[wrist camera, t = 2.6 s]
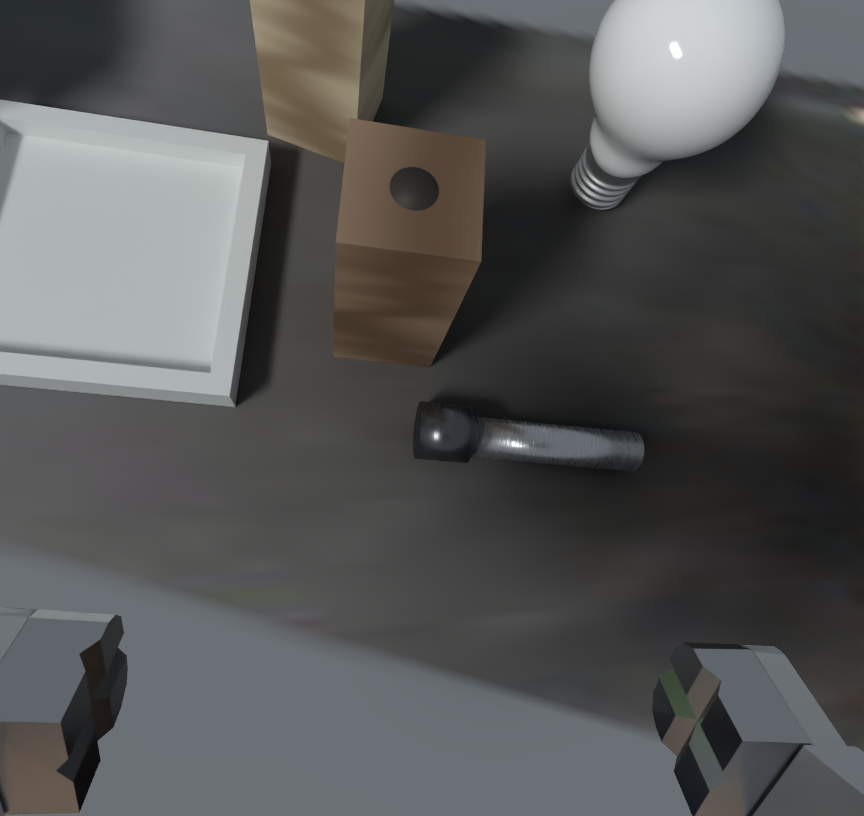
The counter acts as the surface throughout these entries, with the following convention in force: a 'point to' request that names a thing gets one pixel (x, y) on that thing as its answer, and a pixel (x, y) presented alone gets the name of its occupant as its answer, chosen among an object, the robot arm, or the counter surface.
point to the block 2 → (405, 240)
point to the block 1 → (320, 67)
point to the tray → (126, 254)
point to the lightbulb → (673, 85)
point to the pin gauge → (519, 440)
